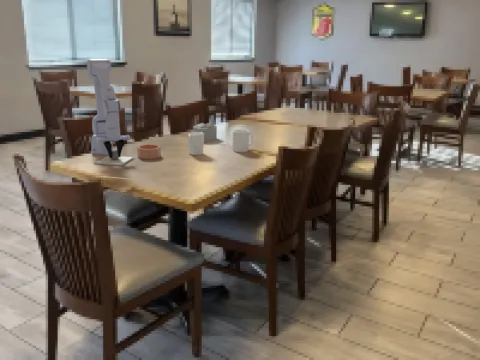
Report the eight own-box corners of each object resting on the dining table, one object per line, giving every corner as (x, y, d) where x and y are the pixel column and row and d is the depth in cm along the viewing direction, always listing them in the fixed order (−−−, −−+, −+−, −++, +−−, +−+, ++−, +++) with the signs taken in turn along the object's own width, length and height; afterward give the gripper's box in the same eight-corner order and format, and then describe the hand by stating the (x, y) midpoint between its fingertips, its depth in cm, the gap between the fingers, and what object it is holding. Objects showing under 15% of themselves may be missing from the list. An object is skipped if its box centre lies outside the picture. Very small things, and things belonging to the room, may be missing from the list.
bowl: (135, 158, 210) (134, 148, 209) (143, 153, 220) (143, 143, 218) (155, 160, 209) (154, 150, 207) (163, 155, 218) (162, 145, 216)
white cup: (201, 156, 218) (201, 135, 215) (185, 154, 220) (185, 134, 217) (205, 152, 226) (205, 132, 223) (190, 151, 227) (190, 131, 224)
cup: (229, 149, 232) (229, 130, 229) (248, 147, 238) (248, 128, 235) (238, 153, 225) (238, 133, 222) (257, 150, 232) (258, 130, 229)
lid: (96, 163, 199) (95, 153, 198) (109, 157, 211) (108, 146, 209) (121, 165, 197) (120, 155, 196) (133, 159, 208) (132, 148, 207)
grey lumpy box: (191, 138, 255) (191, 123, 252) (210, 136, 262) (210, 121, 260) (201, 142, 247) (201, 126, 244) (220, 139, 254) (220, 124, 252)
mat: (93, 165, 199) (92, 164, 199) (108, 157, 212) (108, 156, 212) (122, 167, 196) (122, 166, 196) (136, 159, 209) (136, 158, 209)
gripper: (99, 130, 192) (101, 161, 196) (132, 127, 200) (133, 157, 204) (94, 127, 198) (96, 157, 202) (126, 124, 205) (128, 153, 210)
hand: (114, 157), depth 203 cm, fingers closed on lid, 3 cm apart
